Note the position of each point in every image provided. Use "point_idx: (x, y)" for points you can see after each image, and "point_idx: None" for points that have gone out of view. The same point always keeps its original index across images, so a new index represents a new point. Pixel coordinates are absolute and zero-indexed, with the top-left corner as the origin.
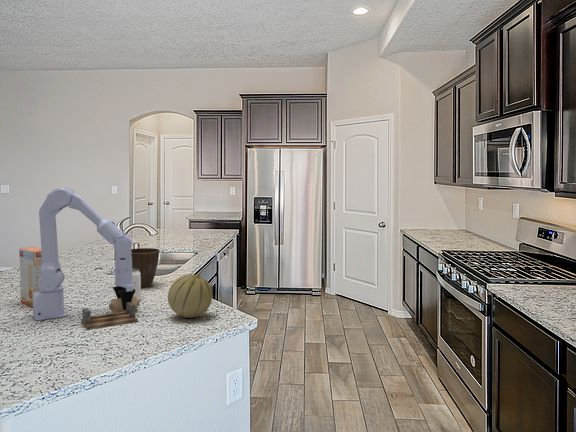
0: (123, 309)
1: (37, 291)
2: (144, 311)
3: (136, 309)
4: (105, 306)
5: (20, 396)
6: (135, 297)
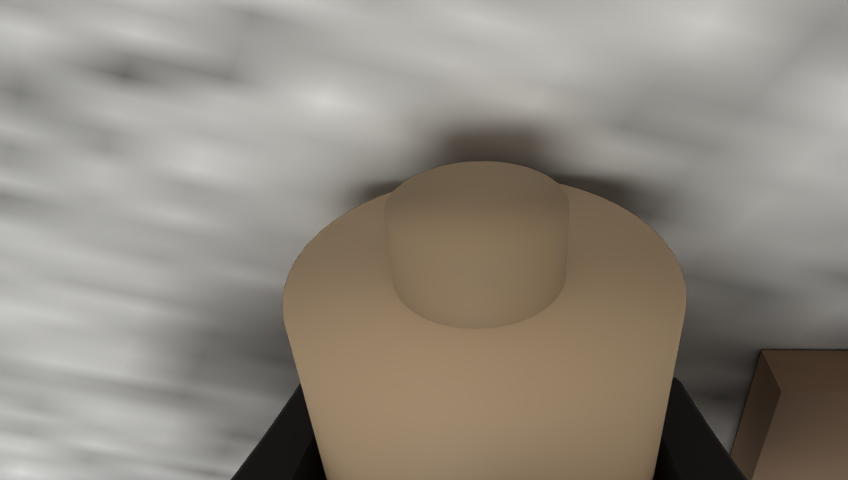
0: None
1: None
2: (723, 34)
3: (595, 209)
4: (36, 462)
5: None
6: (561, 435)
